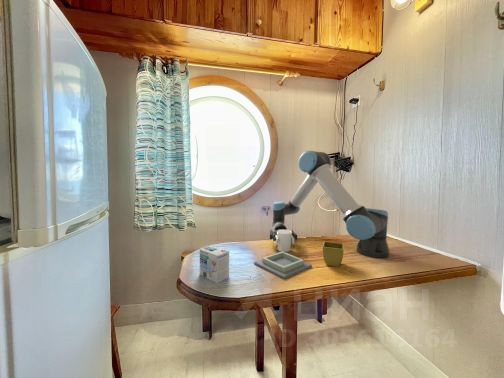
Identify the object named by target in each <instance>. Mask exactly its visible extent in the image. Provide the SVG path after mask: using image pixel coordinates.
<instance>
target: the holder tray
mask: <svg viewBox="0 0 504 378" xmlns="http://www.w3.org/2000/svg"><path fill="white" fill-rule="evenodd" d="M253 264H254V265H256V266H257V267H259V268H261V269H263V270H265V271H267V272H269V273H271V274H272V275H275V276H277V277H279V278H281V279H283V280H286V279H287V278H290V277H292V276H295V275H297V274H299V273H302V272H304V271H306V270H309V269H311V268H312V267H313V265H312V264H311V263H309V262H306V261H305V260H304V259H302V258H300V257H298V256H295V255H292V254H290V253H288V252H281V251H278V252H276V253H274V254H271V255H267V256H264V257H262V258H261V259H260V260H259V259H258V260H256V261H254V263H253Z"/></svg>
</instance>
